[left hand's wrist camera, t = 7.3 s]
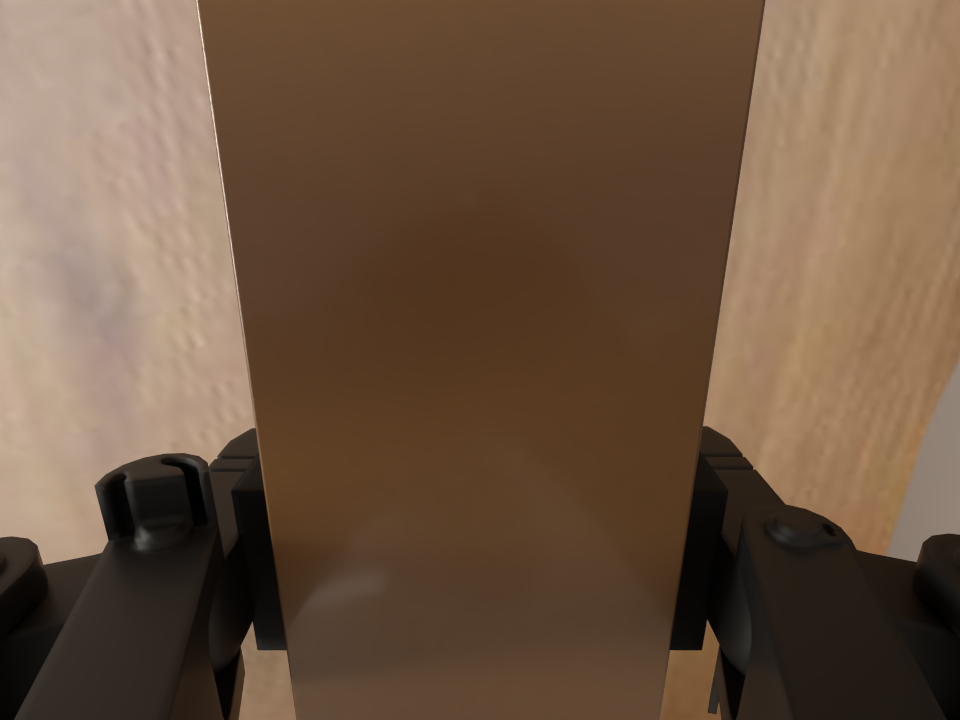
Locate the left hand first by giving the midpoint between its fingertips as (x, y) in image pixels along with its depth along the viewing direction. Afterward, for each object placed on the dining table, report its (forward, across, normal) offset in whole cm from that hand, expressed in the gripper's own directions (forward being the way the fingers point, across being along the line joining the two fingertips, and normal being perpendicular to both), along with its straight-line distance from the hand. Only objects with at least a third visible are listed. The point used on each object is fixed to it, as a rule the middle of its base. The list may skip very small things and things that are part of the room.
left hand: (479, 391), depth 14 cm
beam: (+1, 0, -21) cm, 21 cm away
